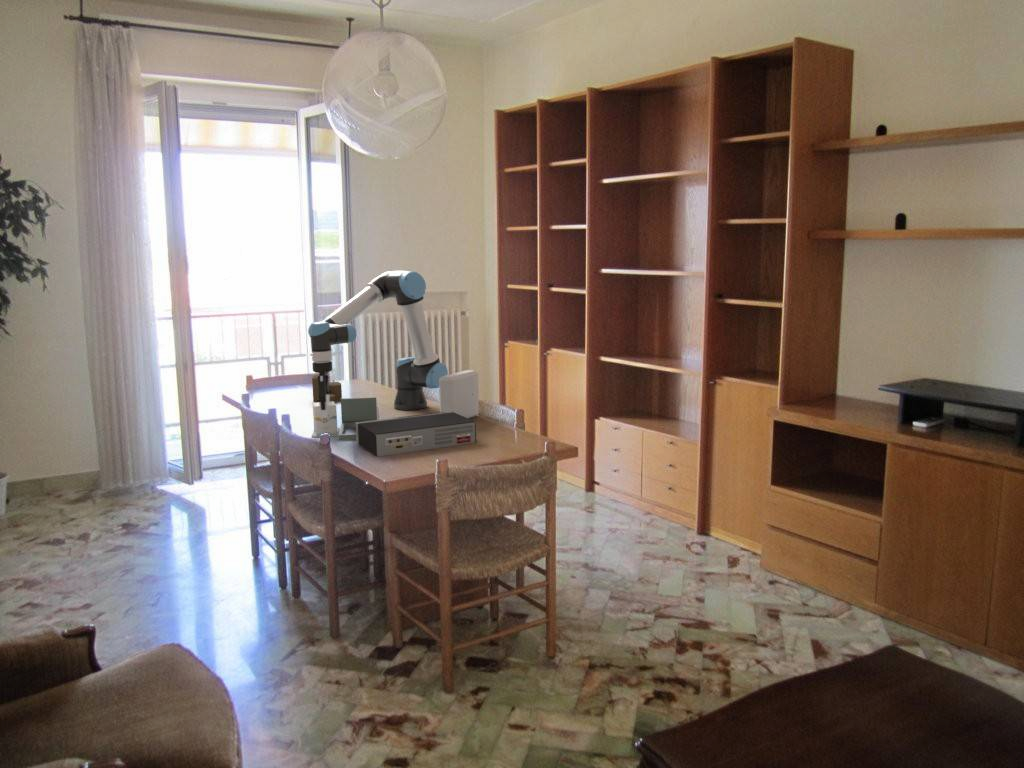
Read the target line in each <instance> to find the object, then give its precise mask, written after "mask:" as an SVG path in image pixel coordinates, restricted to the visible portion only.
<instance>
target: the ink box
mask: <svg viewBox="0 0 1024 768" xmlns="http://www.w3.org/2000/svg"><path fill="white" fill-rule="evenodd" d="M312 412H313V413H312V414H313V416H312V417H313V431H315V433H316V435H321V434H324V433H328V434H334V433H338V429H337V428H338V414H337V413H338V412H337V405H336V402H335V403H334V402H333V401H332V402H329V401H328V402H327V415H328V418H320V404H319V402H313V403H312ZM338 434H339V433H338Z"/></svg>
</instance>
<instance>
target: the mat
mask: <svg viewBox="0 0 1024 768" xmlns="http://www.w3.org/2000/svg"><path fill="white" fill-rule="evenodd" d="M337 429H338V433H334V434H329V435H330V437H329V438H332V437H333V438H335V437H337V438H338V434H339V431H340V428H338V427H337ZM319 436H320V435H316V433H315V431H314V430H313V432H312V433H311V438H320V437H319Z"/></svg>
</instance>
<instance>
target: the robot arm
mask: <svg viewBox="0 0 1024 768" xmlns="http://www.w3.org/2000/svg"><path fill="white" fill-rule="evenodd" d="M426 289H427V283H426V281H425V278H424V277H423V276H422V275H421V274H420V273H419V272H417V271H413V270H394V269H393V270H388V271H385V272H383V273H380V275H378V276H376V277H375V278H373V279H372V280H371V281H369V282H367V284H366V285H365V288H364V289H362V290H361V291H359V293H357V294H356V295H355V296H353V297H352V298H351V299H349V300H348V301H346V303H344V304H343V305H341V306H340V307H339V308H337V309H336V310H334V311H333V312H332V313H331V314H328V316H327V317H325V318H324V319H323V320H321V321H315V322H311V324H310V325H309V327H308V331H307V332H308V335H309V338H310V346H311V347H310V348H311V353H310V356H311V359H312V364H311V365H312V372H314V373H318V372H319V376H318V386H319V400H317V401H318V402H319V404H320V418H328V415H327V402H328V401H329V402H330V397H329V394H331V391H330V389H329V382H330V381H329V378H330V377H329V374H328V372H332V371H333V362H332V361H333V357H332V356H333V355H332V346H335V345H340V344H348V343H352V342H354V341H356V339H357V328H356V327H355V326H354V325H353V324H351V322H352V321H354V320H355V319H357V318H358V317H359V316H360V315H362V314H363V313H364V312H366V311H367V310H369V308H371V307H372V306H373V305H375V304H376V303H382V302H383V301H384V300H386V299H390V298H395V302H396V304H397V306H398V307H400V308H401V310H402V312H403V317H404V320H405V323H406V327H407V332H408V334H409V339H410V342H411V346H412V349H413V353H414V356H411V357H410V356H409V357H402V358H399V359H397V360H396V366H395V370H396V389H397V390H396V391H397V392H396V394H395V397H394V398H395V399H394V402H393V408H394V409H395V408H396V409H395V410H401V411H414V410H415V411H416V410H423V409H426V408H427V407H428V401H427V399H426V395H425V393H424V389H423V388H427V389H439V379H440V378H441V377H442V376H446V375H449V371H448V367H447V366H446V364H444V363H443V362H441V360H440V356H439V355H438V354H437V353H435V351H434V347H433V343H432V339H431V335H430V331H429V327H428V324H427V320H426V316H425V313H424V309H423V304H422V302H423V301H424V295H425V293H426ZM318 402H317V403H318Z"/></svg>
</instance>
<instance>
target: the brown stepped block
mask: <svg viewBox="0 0 1024 768" xmlns="http://www.w3.org/2000/svg"><path fill="white" fill-rule="evenodd" d="M318 376H319V372H317V373H316V374H315V373H314V374H313V375H312V377H311V383H312V384H311V385H312V400H313V401H312V402H313V403H318V401H317V400H319V386H318ZM329 389H330V391H331V394H329V397H330V402H332V401H333V402H334V403H335V404H336V402H341V399H342V398H343V394H342V389H343V388H342V383H341V382H340V381H335V379H332V381H329ZM335 401H336V402H335Z"/></svg>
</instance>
